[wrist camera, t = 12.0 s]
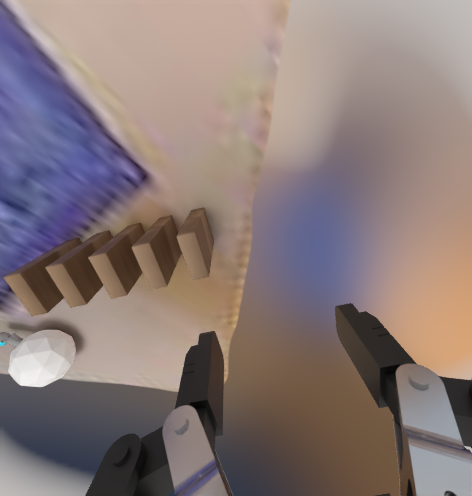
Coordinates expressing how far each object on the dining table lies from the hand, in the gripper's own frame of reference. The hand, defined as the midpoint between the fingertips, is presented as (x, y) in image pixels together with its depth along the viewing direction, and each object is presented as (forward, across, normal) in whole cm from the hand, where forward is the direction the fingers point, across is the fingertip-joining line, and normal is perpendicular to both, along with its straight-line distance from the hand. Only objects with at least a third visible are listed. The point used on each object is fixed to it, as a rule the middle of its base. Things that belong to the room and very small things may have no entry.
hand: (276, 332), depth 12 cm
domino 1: (+22, +24, 0) cm, 32 cm away
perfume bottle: (+22, +36, +12) cm, 44 cm away
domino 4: (+22, +11, 0) cm, 24 cm away
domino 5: (+22, +6, 0) cm, 23 cm away
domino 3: (+22, +15, 0) cm, 27 cm away
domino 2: (+22, +20, 0) cm, 29 cm away
